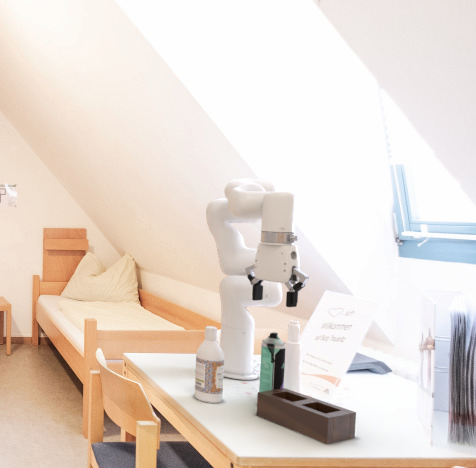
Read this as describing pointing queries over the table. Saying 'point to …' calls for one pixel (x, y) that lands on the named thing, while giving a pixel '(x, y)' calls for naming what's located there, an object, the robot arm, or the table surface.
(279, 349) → the spray can
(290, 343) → the cosmetic bottle
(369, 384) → the table surface
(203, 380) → the bath foam
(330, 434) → the rack
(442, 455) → the table surface
